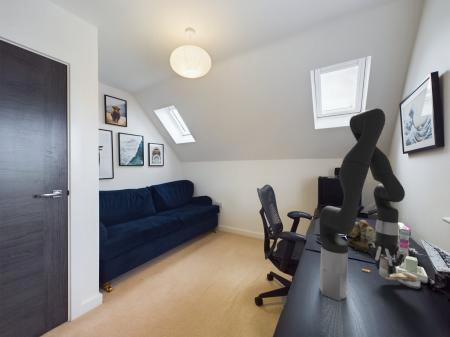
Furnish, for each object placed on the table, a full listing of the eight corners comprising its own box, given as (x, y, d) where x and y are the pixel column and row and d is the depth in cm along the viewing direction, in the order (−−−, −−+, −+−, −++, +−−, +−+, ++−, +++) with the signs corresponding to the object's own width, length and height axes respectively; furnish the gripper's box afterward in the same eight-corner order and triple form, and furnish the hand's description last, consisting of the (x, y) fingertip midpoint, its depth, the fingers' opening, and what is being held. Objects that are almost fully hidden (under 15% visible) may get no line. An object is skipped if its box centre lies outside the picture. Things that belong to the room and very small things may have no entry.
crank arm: (409, 274, 88) (410, 256, 88) (420, 281, 83) (421, 261, 83) (375, 274, 87) (376, 255, 87) (385, 281, 82) (386, 261, 82)
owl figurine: (341, 244, 126) (342, 217, 126) (350, 241, 132) (351, 215, 132) (375, 256, 111) (376, 225, 111) (383, 251, 117) (384, 222, 117)
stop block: (416, 276, 89) (417, 261, 89) (404, 273, 92) (405, 258, 92) (415, 272, 93) (416, 257, 92) (404, 269, 95) (404, 255, 95)
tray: (427, 283, 85) (427, 276, 85) (397, 275, 91) (397, 268, 91) (422, 273, 93) (423, 267, 93) (395, 266, 99) (395, 260, 99)
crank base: (418, 282, 86) (418, 278, 86) (421, 290, 80) (422, 285, 80) (362, 267, 98) (362, 263, 98) (361, 273, 92) (362, 268, 92)
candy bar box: (409, 261, 106) (411, 230, 106) (397, 258, 109) (398, 228, 109) (408, 254, 115) (409, 225, 114) (396, 251, 118) (397, 224, 117)
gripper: (412, 235, 80) (410, 278, 80) (373, 225, 92) (371, 262, 93) (402, 238, 76) (400, 282, 77) (363, 227, 89) (361, 265, 90)
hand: (384, 271), depth 85 cm, fingers closed on crank arm, 3 cm apart
